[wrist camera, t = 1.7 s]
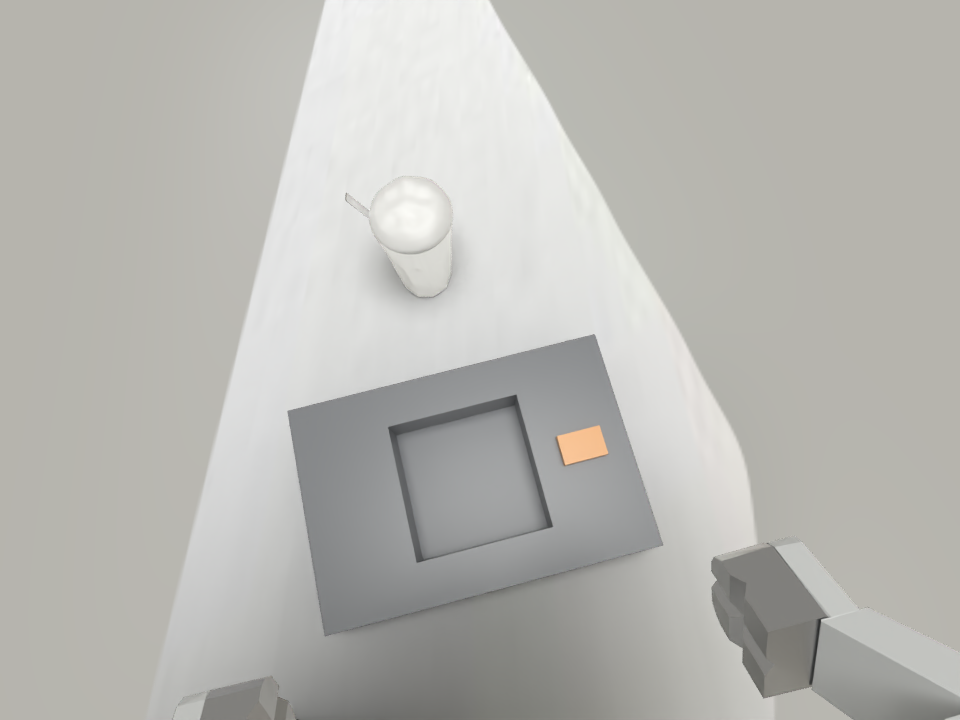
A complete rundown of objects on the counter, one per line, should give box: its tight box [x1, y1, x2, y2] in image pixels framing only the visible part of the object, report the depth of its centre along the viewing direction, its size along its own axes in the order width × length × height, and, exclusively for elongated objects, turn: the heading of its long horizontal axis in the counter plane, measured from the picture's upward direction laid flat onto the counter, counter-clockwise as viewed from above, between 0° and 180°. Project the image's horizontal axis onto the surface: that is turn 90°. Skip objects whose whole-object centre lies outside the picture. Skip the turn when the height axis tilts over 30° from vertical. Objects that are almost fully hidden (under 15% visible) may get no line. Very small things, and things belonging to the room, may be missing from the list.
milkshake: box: [345, 176, 453, 297], centre depth 35 cm, size 4×5×10 cm
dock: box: [288, 334, 663, 636], centre depth 34 cm, size 18×12×5 cm, turn 104°
